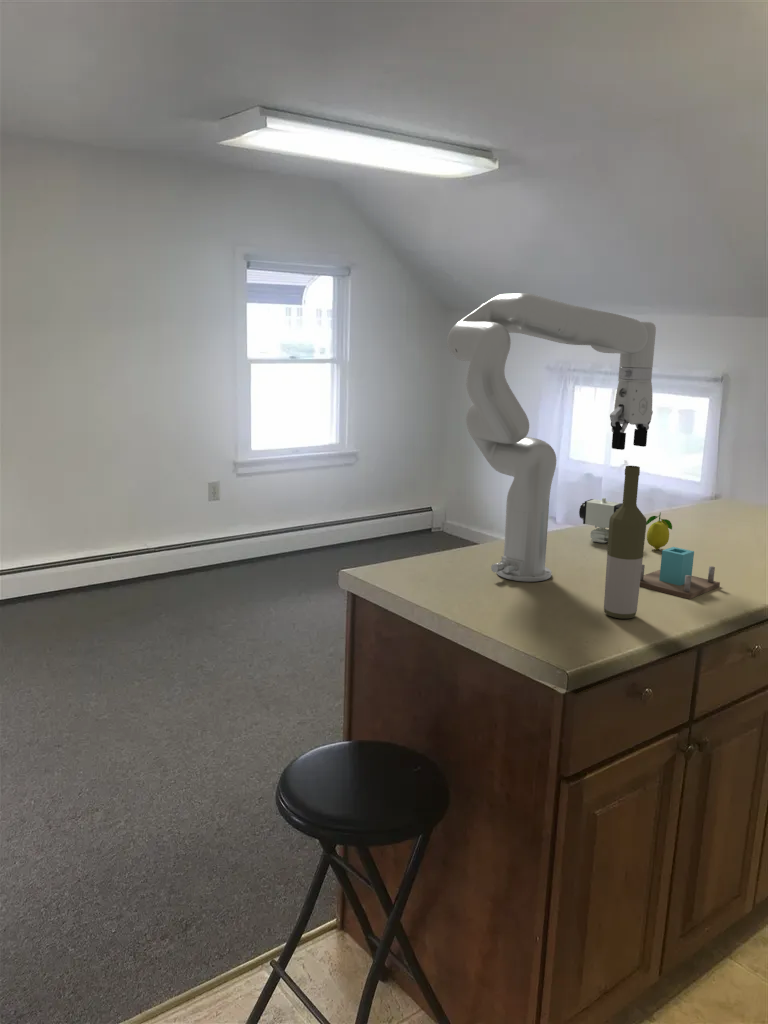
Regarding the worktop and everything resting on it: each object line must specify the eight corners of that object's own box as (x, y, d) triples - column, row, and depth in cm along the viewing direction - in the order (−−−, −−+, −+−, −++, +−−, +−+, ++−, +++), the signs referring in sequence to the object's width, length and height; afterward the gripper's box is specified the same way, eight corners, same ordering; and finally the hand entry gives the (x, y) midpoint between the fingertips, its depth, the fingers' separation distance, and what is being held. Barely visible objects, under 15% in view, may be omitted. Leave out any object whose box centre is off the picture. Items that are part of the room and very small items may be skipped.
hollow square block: (680, 585, 185) (683, 555, 183) (659, 580, 188) (662, 550, 187) (691, 581, 188) (694, 551, 187) (670, 576, 192) (673, 546, 190)
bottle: (643, 614, 168) (657, 466, 162) (629, 623, 163) (643, 471, 156) (610, 607, 172) (622, 462, 166) (595, 615, 167) (607, 466, 161)
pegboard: (689, 599, 179) (691, 576, 178) (630, 583, 189) (632, 562, 188) (719, 586, 188) (721, 565, 187) (662, 572, 198) (664, 552, 197)
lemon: (642, 551, 218) (645, 513, 216) (643, 545, 223) (647, 509, 221) (669, 553, 216) (673, 515, 213) (670, 548, 221) (673, 511, 219)
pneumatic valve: (618, 547, 221) (621, 502, 218) (576, 539, 228) (579, 496, 225) (626, 543, 225) (629, 499, 223) (585, 536, 232) (588, 493, 230)
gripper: (629, 377, 189) (623, 452, 193) (668, 375, 201) (661, 446, 204) (600, 375, 194) (595, 448, 198) (639, 373, 206) (633, 443, 210)
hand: (629, 447), depth 201 cm, fingers open, 9 cm apart
